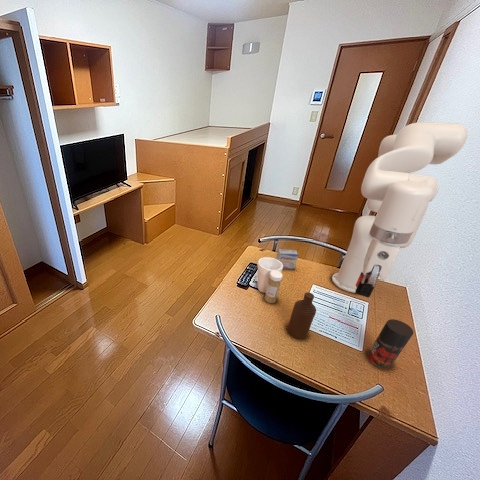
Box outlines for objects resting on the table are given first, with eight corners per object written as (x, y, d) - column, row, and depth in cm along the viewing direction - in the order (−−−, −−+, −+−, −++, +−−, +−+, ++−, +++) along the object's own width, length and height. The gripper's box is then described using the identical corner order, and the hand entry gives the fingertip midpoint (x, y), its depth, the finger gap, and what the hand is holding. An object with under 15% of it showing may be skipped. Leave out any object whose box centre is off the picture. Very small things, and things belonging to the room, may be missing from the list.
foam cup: (252, 292, 109) (257, 267, 103) (254, 279, 117) (259, 255, 110) (276, 298, 106) (283, 272, 99) (277, 284, 113) (283, 259, 107)
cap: (359, 291, 70) (364, 282, 69) (353, 282, 74) (357, 273, 72) (374, 293, 70) (380, 284, 68) (367, 284, 73) (372, 275, 71)
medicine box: (276, 268, 122) (280, 253, 118) (274, 263, 126) (278, 248, 122) (294, 269, 121) (298, 254, 117) (291, 264, 125) (295, 249, 120)
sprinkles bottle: (278, 300, 105) (285, 274, 98) (271, 305, 103) (277, 279, 96) (268, 294, 108) (274, 268, 101) (261, 298, 106) (267, 272, 99)
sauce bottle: (295, 322, 95) (307, 286, 86) (311, 335, 90) (325, 298, 81) (282, 328, 93) (293, 292, 84) (298, 342, 88) (311, 304, 79)
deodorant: (362, 352, 84) (381, 320, 76) (380, 350, 84) (400, 318, 76) (377, 369, 78) (399, 337, 71) (396, 367, 79) (419, 334, 71)
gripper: (412, 253, 55) (378, 314, 65) (408, 223, 66) (379, 279, 76) (368, 243, 59) (343, 302, 69) (372, 216, 70) (349, 270, 80)
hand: (362, 289), depth 72 cm, fingers closed on cap, 3 cm apart
